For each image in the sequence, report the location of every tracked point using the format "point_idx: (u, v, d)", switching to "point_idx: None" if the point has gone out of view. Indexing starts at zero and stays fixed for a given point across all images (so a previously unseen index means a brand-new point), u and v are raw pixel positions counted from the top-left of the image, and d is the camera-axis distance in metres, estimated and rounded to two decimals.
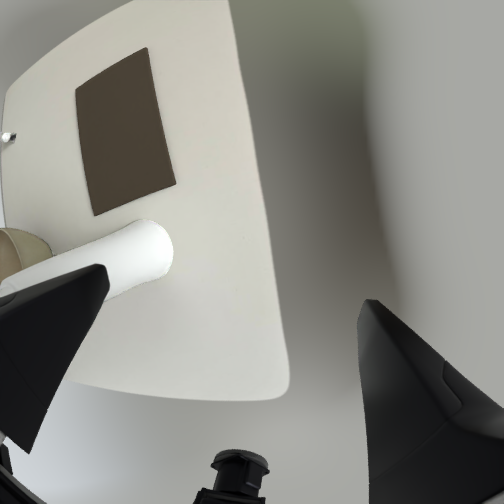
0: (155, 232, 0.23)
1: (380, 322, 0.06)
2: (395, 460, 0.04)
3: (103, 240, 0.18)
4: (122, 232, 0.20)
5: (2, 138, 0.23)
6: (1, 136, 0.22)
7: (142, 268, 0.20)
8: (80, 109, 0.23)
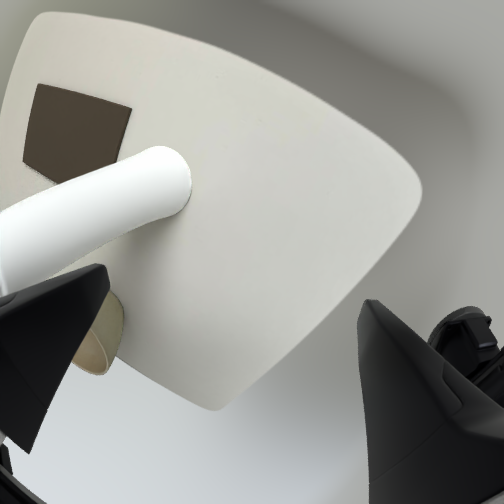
0: (145, 150, 0.19)
1: (380, 322, 0.06)
2: (395, 460, 0.04)
3: None
4: None
5: None
6: None
7: (144, 171, 0.16)
8: (34, 164, 0.23)
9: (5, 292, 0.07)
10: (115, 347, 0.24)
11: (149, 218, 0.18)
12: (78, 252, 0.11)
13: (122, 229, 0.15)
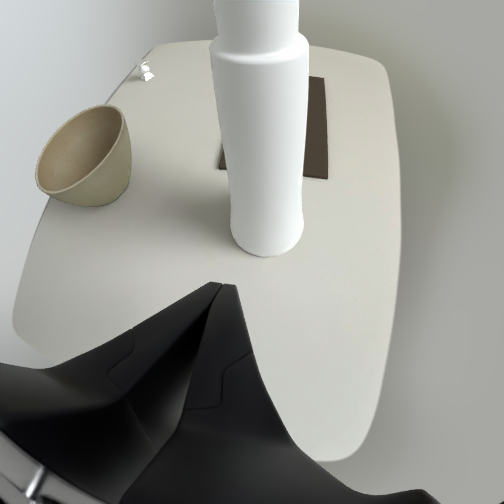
0: None
1: (211, 304, 0.07)
2: None
3: None
4: None
5: (142, 66, 0.29)
6: (144, 63, 0.29)
7: (297, 208, 0.18)
8: None
9: (246, 59, 0.07)
10: (72, 200, 0.19)
11: (249, 222, 0.18)
12: (249, 151, 0.11)
13: (251, 197, 0.15)
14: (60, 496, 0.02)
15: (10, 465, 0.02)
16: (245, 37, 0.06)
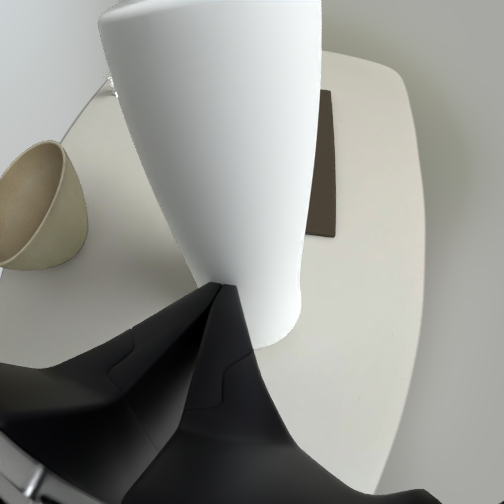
0: None
1: (212, 304, 0.07)
2: None
3: None
4: None
5: None
6: None
7: (293, 295, 0.12)
8: None
9: (149, 3, 0.02)
10: (18, 269, 0.14)
11: None
12: (197, 230, 0.06)
13: None
14: (59, 496, 0.02)
15: (9, 465, 0.02)
16: None
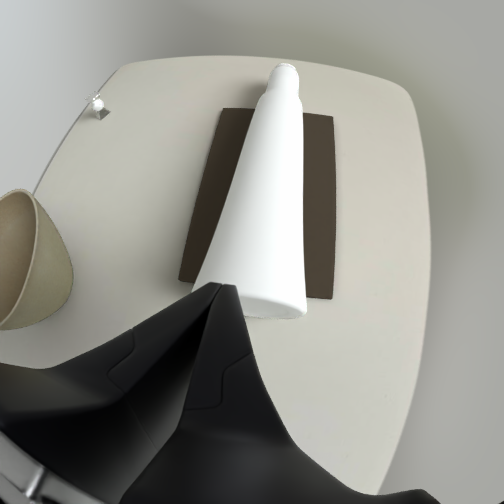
0: None
1: (211, 304, 0.07)
2: None
3: None
4: None
5: (94, 101, 0.22)
6: (95, 98, 0.22)
7: (301, 221, 0.15)
8: (221, 132, 0.22)
9: None
10: None
11: (244, 204, 0.14)
12: (269, 121, 0.16)
13: (259, 161, 0.15)
14: (60, 496, 0.02)
15: (10, 465, 0.02)
16: (278, 87, 0.19)
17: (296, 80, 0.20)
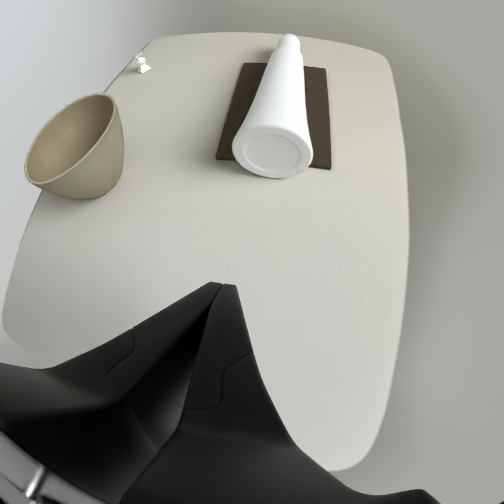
0: None
1: (211, 304, 0.07)
2: None
3: None
4: None
5: (139, 58, 0.28)
6: (140, 55, 0.27)
7: (304, 108, 0.20)
8: (244, 76, 0.27)
9: (285, 46, 0.24)
10: (61, 191, 0.17)
11: (268, 94, 0.19)
12: (280, 60, 0.22)
13: (275, 77, 0.20)
14: (60, 496, 0.02)
15: (10, 465, 0.02)
16: (285, 46, 0.24)
17: (298, 43, 0.25)
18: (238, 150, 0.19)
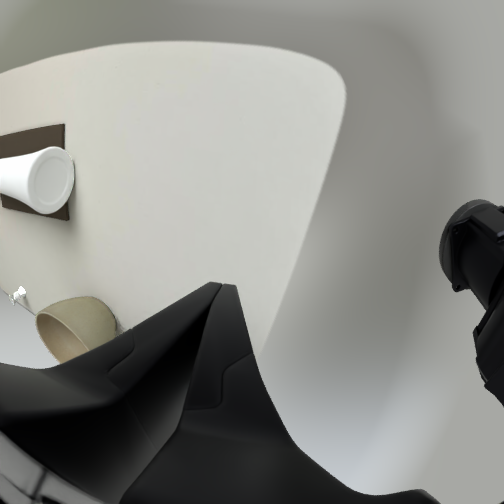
0: None
1: (211, 304, 0.07)
2: None
3: None
4: None
5: (14, 298, 0.30)
6: (11, 297, 0.30)
7: (19, 158, 0.17)
8: (11, 205, 0.25)
9: None
10: None
11: (12, 191, 0.18)
12: None
13: (1, 186, 0.18)
14: (60, 496, 0.02)
15: (10, 465, 0.02)
16: None
17: None
18: (52, 207, 0.19)
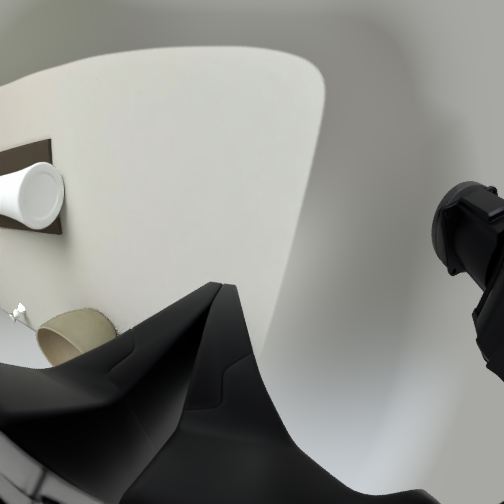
0: None
1: (211, 304, 0.07)
2: None
3: None
4: None
5: (14, 316, 0.29)
6: (11, 315, 0.29)
7: (8, 176, 0.17)
8: (4, 223, 0.24)
9: None
10: None
11: (4, 209, 0.17)
12: None
13: None
14: (60, 496, 0.02)
15: (10, 465, 0.02)
16: None
17: None
18: (44, 222, 0.19)
